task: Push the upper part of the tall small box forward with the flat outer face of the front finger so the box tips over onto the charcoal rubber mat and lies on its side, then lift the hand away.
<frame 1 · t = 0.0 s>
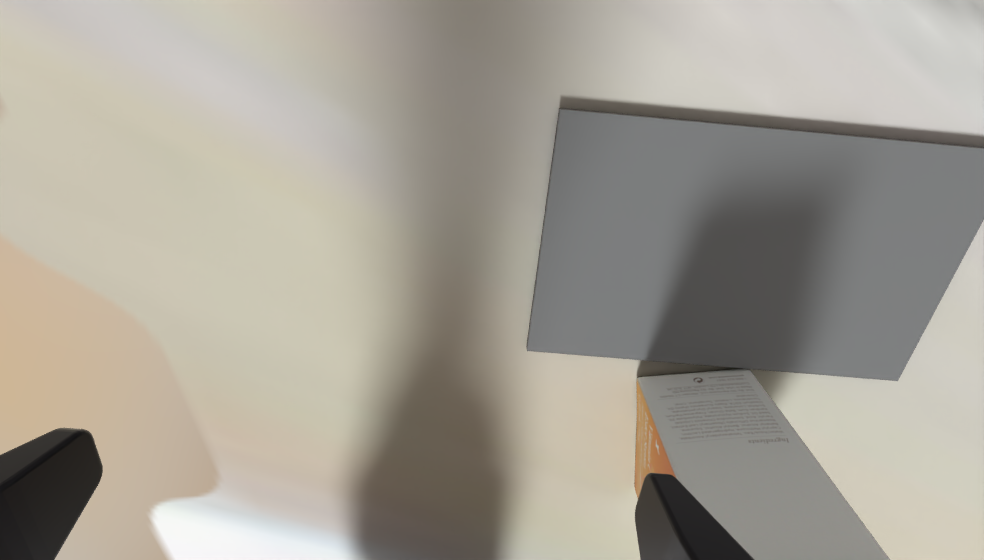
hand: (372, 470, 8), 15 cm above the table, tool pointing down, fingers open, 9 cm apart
small box: (685, 428, 27), on the table
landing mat: (744, 257, 22), on the table
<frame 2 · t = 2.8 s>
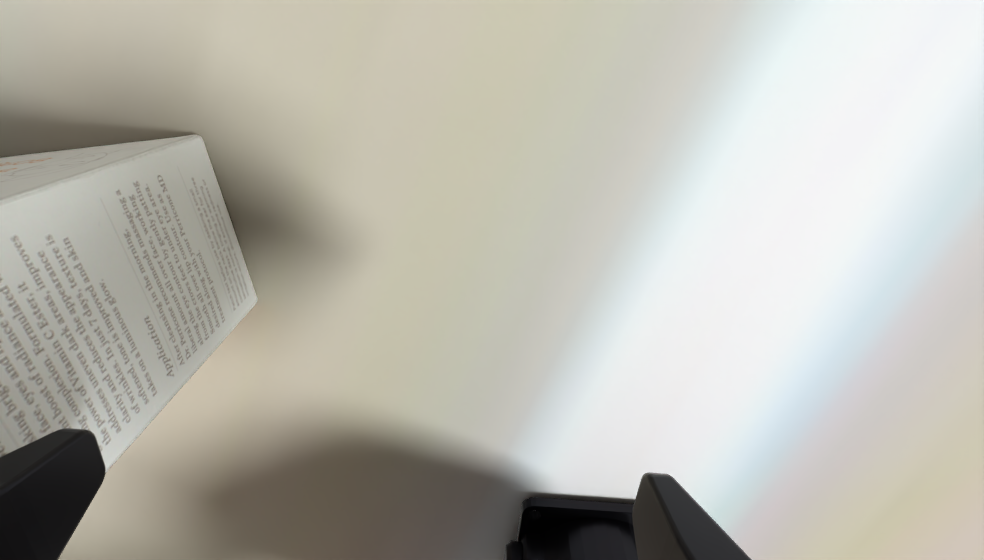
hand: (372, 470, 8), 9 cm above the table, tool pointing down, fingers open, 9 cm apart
small box: (119, 232, 16), on the table, touching gripper
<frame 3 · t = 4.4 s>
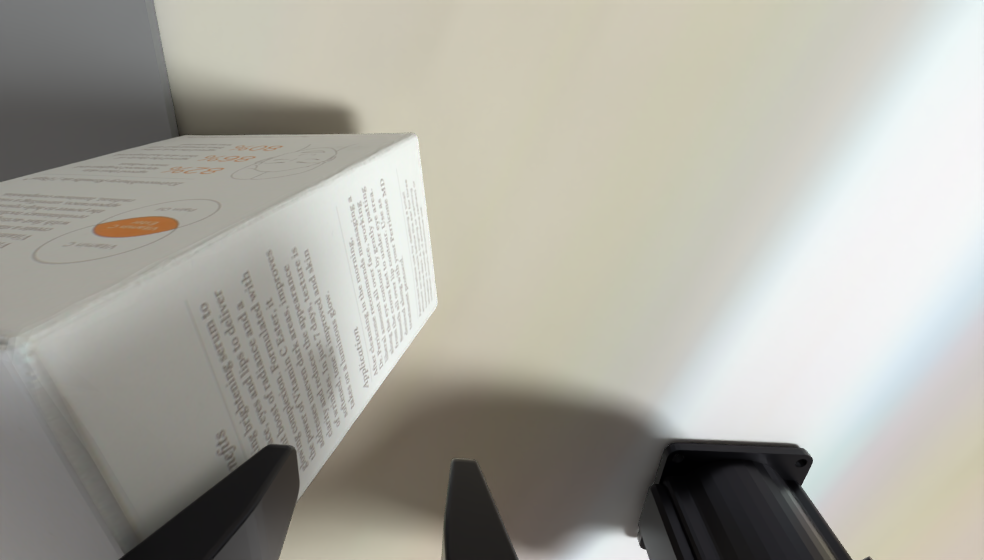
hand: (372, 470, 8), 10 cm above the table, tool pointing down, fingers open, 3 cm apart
small box: (320, 217, 16), point 1 cm above the table, touching gripper
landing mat: (11, 180, 16), on the table
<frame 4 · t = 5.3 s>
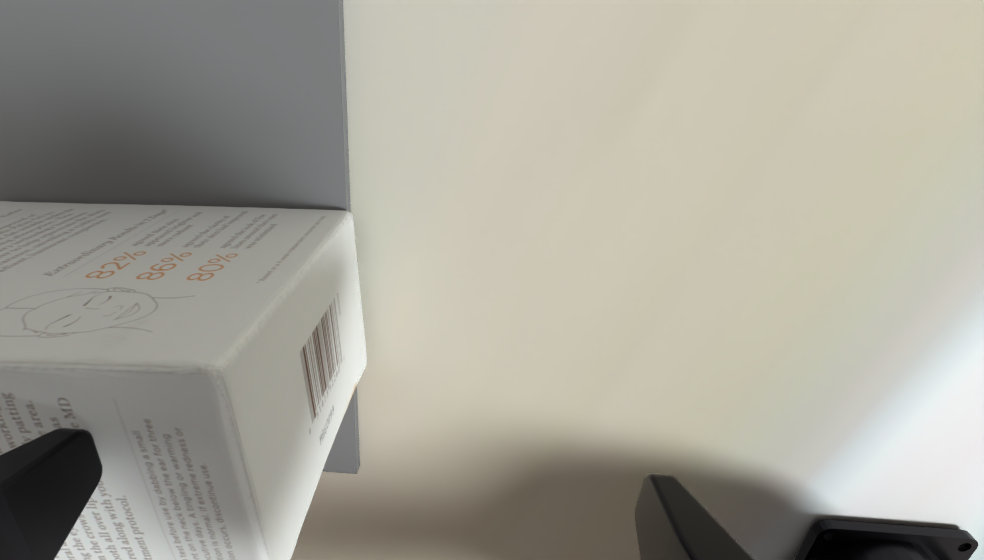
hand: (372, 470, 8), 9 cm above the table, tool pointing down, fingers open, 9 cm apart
small box: (332, 367, 12), point 4 cm above the table, touching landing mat
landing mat: (174, 238, 16), on the table
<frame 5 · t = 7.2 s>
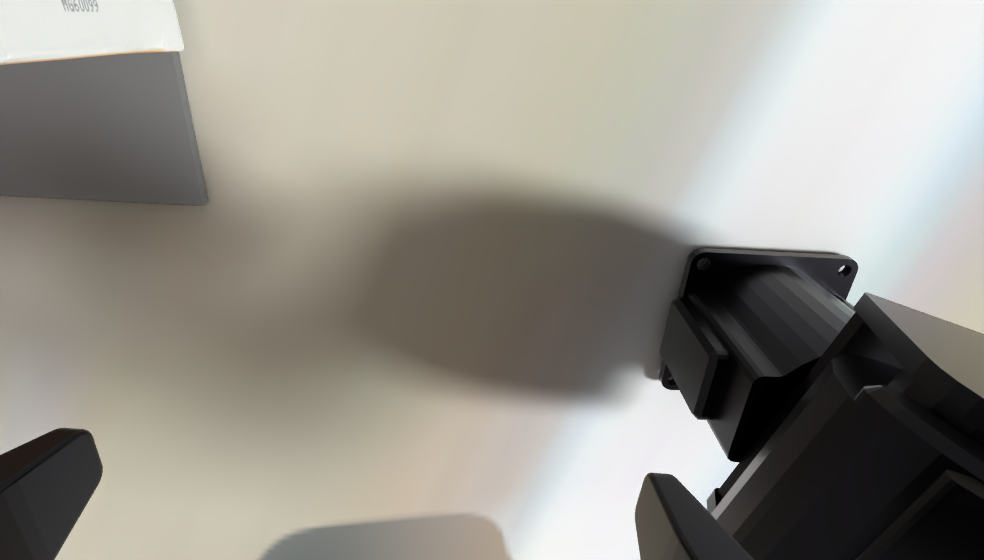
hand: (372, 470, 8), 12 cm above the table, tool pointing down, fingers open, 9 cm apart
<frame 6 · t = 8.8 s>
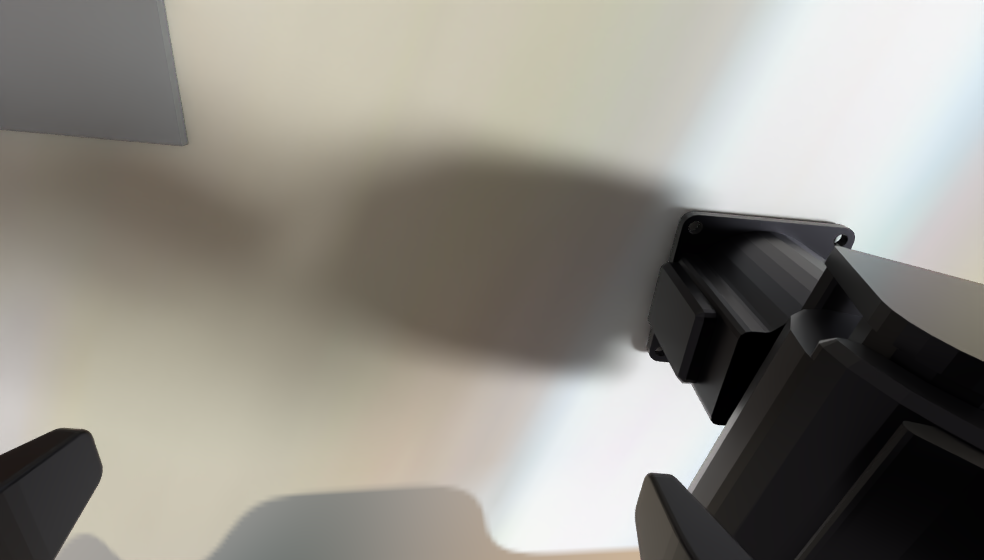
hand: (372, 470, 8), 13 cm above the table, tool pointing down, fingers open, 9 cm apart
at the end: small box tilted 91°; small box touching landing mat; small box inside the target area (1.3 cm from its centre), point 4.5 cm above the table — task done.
